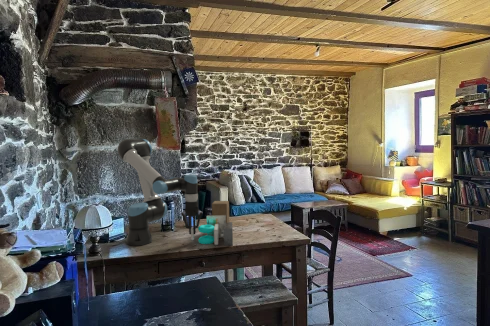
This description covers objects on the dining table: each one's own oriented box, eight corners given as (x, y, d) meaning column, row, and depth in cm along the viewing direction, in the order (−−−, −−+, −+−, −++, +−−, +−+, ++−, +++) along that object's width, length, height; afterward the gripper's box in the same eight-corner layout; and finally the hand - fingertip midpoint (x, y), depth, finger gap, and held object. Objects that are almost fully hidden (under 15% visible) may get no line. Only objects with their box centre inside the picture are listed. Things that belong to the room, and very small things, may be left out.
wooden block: (229, 229, 236) (228, 200, 235) (227, 233, 226) (226, 203, 225) (215, 229, 237) (214, 200, 236) (212, 233, 227) (211, 203, 226)
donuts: (207, 223, 215) (218, 225, 208) (207, 238, 216) (218, 241, 209) (194, 226, 207) (205, 229, 201) (195, 242, 208) (206, 246, 201)
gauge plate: (214, 244, 202) (214, 225, 201) (215, 237, 217) (215, 219, 216) (217, 244, 202) (217, 225, 201) (218, 237, 217) (218, 219, 216)
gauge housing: (205, 246, 201) (204, 222, 200) (207, 237, 219) (206, 215, 217) (232, 245, 202) (232, 221, 201) (232, 236, 219) (232, 214, 218)
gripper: (179, 202, 202) (180, 241, 204) (201, 201, 203) (202, 241, 204) (181, 199, 209) (182, 238, 211) (202, 199, 210) (203, 237, 212)
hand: (192, 239), depth 208 cm, fingers closed
